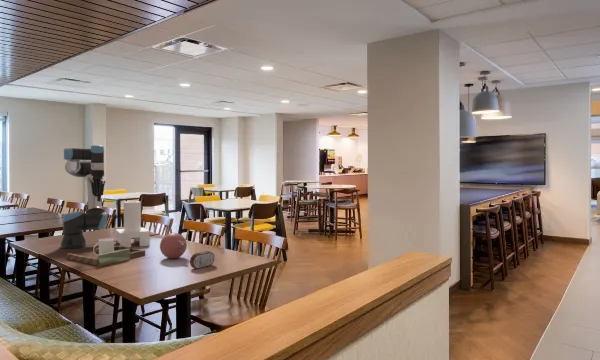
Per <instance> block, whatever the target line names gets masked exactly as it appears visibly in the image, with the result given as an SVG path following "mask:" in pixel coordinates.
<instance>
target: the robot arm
mask: <svg viewBox="0 0 600 360" xmlns="http://www.w3.org/2000/svg"><path fill="white" fill-rule="evenodd" d="M63 159H64V160H65V161H66V163H65V166H64V170H65V171H66V173H68V174H69V175H71V176H72V177H76V178H84V180H85V181H86V184H87V186H86V187H87V188H86V189H87V208H88V209H87V210H86V211H85V213H84V212H83V211H71V212H68V213H65V214H64V215H63V217H62V218H63V219H62V223H63V225H62V227H63V230H62V233H63V236H62V239H61V242H60V248H61V249H68V250H69V249H79V248H84V247H86V246H87V242H86V241H87V240H86V239H85V236H84V231H94V230H103V229H106V226H107V219H108V212H106V211H105V209H104V208H103V203H102V196H103V195H104V191H105V185H106V180H104V177H105V149H104V146H103V145H97V144H96V145H93V144H92V145H90V148H79V147H78V148H76V147H75V148H72V147H66V148H64V149H63Z"/></svg>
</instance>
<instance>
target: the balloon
mask: <svg viewBox="0 0 600 360" xmlns="http://www.w3.org/2000/svg"><path fill="white" fill-rule="evenodd" d="M159 249H160V252H161V254H162V255H163V256H164V257H165V258H168V259H172V260H174V259H177V258H178V259H179V258H180V257H182V256H183V255H184V254H185V252H186V250H187V249H188V247H187V240H186V238H185V237H184V235H182V234H181V233H177V232H170V233H168V234H165V236H164V237H162V238H161V241H160V244H159Z"/></svg>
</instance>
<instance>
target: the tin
mask: <svg viewBox="0 0 600 360" xmlns="http://www.w3.org/2000/svg"><path fill="white" fill-rule="evenodd" d="M214 262H215V254H214V253H213V252H212V251H210V250H207V251H200V252H195V253H194V254H192V256H191V257H190V259H189V264H190V265H189V266H190V267H192V268H193V269H198V268H199V269H201V268H202V267H203V268H207V267H206V266H208V267H210V266H212V265H213V263H214ZM203 268H202V269H203Z"/></svg>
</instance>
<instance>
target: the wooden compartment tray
mask: <svg viewBox="0 0 600 360" xmlns="http://www.w3.org/2000/svg"><path fill="white" fill-rule="evenodd" d="M94 252H95V253H96V254H99V247H95V248H94ZM66 254H67V256H66V258H67V260H71V261H76V262H81V263H85V264H90V265H94V266H99V267H102V266H107V265H110V264H115V263H118V262H119V263H120V262H123V261H127V260H130V259H134V258H139V257H143V256H146V250H145V249H139V248H134V247H124V246H120V245H114V252H110V253H105V254H100V255H98V256H97V258H94V257H89V256H85V255H80V254H76V253H70V252H69V253H66Z"/></svg>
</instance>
